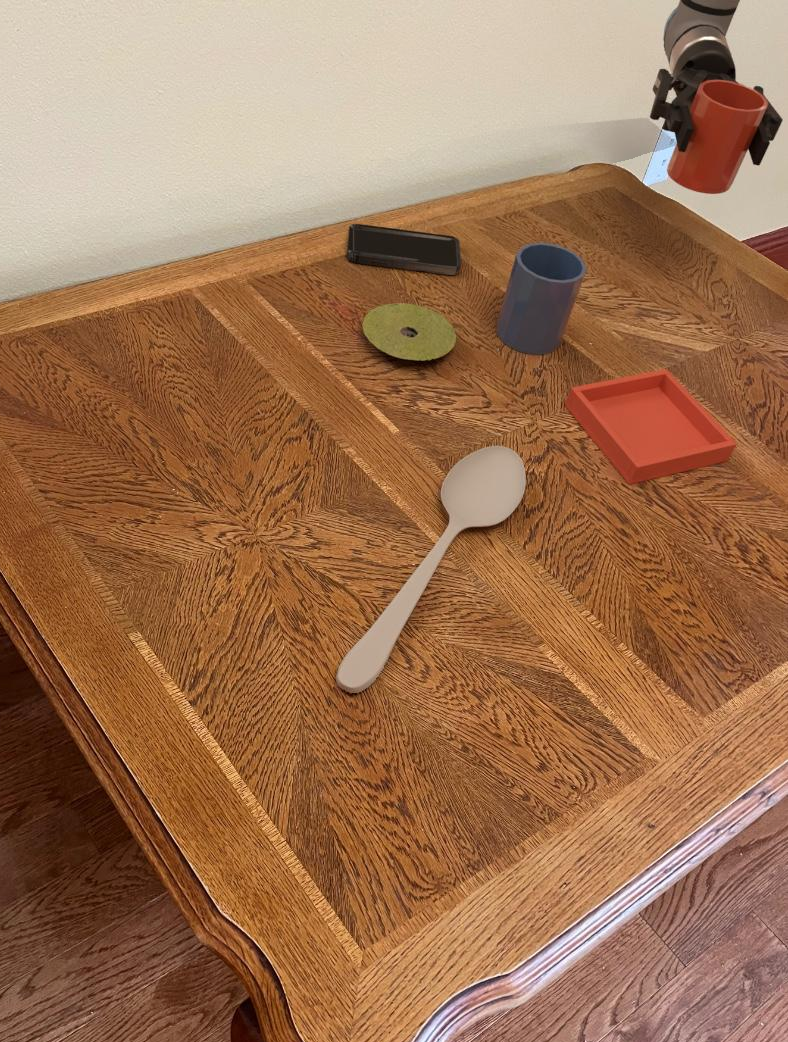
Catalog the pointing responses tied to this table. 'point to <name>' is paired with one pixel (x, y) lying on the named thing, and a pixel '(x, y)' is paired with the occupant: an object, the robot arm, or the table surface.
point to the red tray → (649, 425)
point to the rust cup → (717, 136)
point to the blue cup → (540, 297)
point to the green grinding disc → (409, 331)
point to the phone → (403, 249)
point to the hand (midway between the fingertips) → (723, 147)
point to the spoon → (440, 551)
